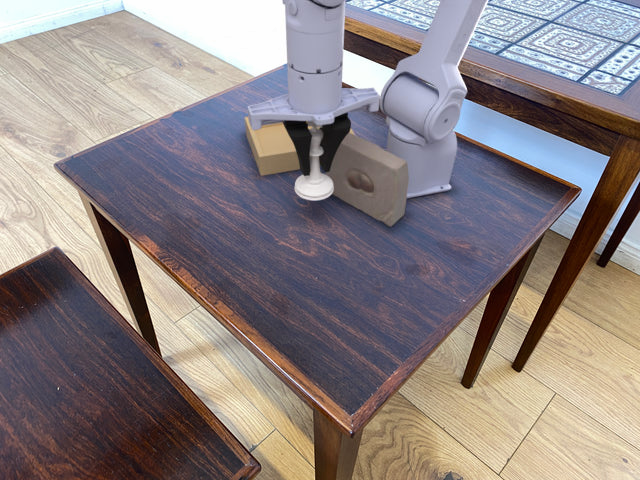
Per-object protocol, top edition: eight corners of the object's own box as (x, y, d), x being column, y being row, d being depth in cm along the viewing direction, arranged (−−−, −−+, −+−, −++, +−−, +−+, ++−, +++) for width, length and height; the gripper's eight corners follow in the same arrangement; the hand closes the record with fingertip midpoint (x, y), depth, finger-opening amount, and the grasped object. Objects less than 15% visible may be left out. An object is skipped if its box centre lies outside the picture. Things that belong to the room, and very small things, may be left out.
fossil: (323, 191, 73) (324, 135, 67) (338, 180, 75) (341, 124, 69) (390, 228, 68) (399, 171, 61) (405, 215, 70) (415, 159, 63)
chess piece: (330, 203, 61) (332, 132, 54) (290, 197, 61) (288, 126, 54) (336, 179, 64) (340, 109, 57) (299, 174, 65) (298, 104, 58)
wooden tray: (335, 122, 87) (335, 104, 85) (357, 159, 79) (359, 141, 77) (246, 135, 84) (244, 116, 81) (260, 176, 76) (259, 156, 73)
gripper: (253, 89, 47) (263, 200, 56) (395, 69, 50) (382, 178, 60) (239, 57, 52) (250, 165, 61) (370, 41, 55) (361, 146, 64)
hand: (314, 169), depth 61 cm, fingers closed on chess piece
